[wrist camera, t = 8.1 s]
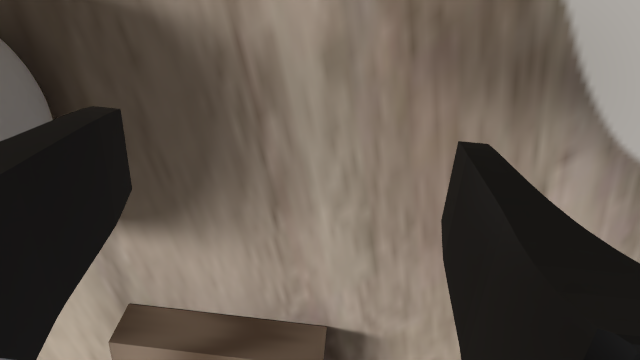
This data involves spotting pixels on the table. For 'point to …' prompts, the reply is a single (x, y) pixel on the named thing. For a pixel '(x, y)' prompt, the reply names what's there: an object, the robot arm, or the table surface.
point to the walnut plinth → (211, 337)
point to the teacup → (19, 96)
